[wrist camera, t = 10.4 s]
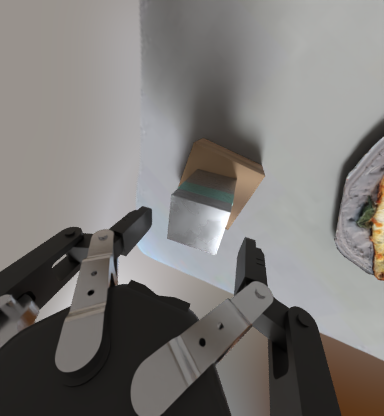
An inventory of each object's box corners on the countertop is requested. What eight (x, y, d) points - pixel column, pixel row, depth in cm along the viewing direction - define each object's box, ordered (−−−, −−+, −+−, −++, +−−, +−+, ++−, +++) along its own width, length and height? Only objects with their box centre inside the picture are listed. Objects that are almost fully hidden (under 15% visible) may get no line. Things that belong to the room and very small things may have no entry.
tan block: (203, 137, 22) (193, 142, 18) (261, 164, 22) (265, 176, 18) (184, 189, 27) (172, 202, 23) (230, 212, 27) (227, 229, 23)
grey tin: (197, 168, 20) (171, 194, 13) (237, 178, 19) (231, 212, 12) (191, 202, 22) (166, 238, 16) (225, 213, 21) (215, 255, 15)
